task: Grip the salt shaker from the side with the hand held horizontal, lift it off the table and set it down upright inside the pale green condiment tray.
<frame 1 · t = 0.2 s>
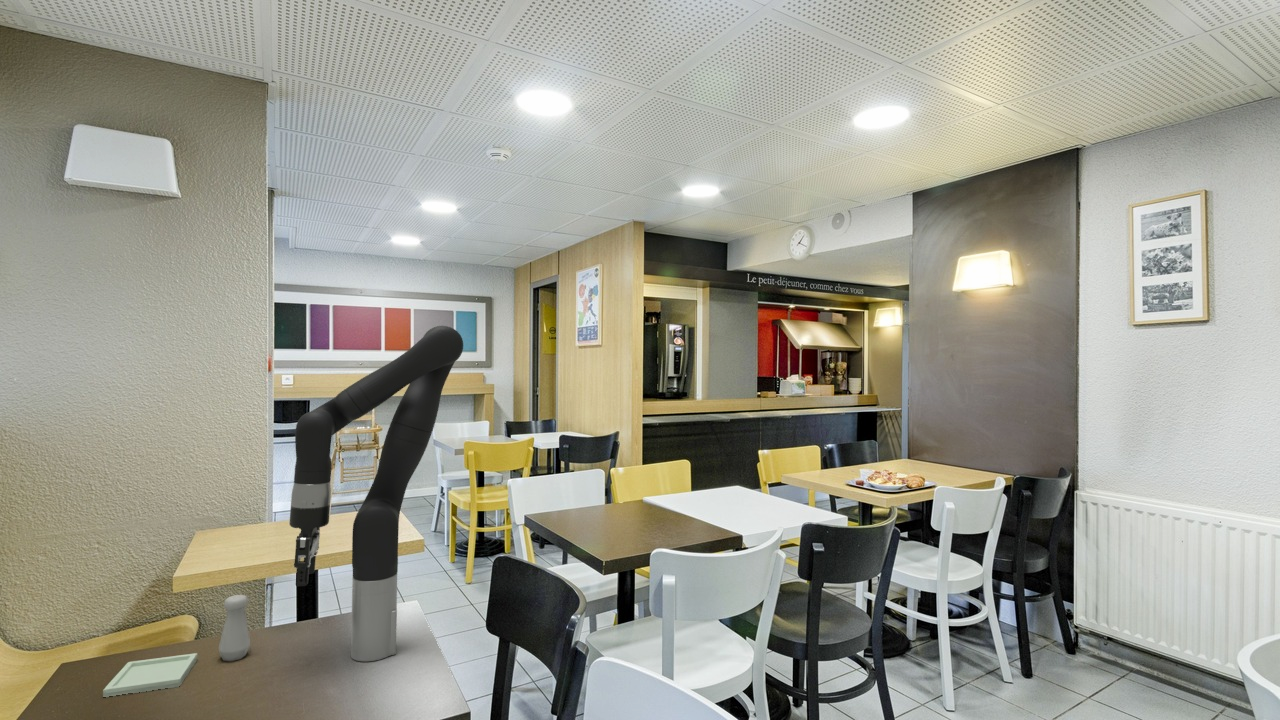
hand: (305, 579, 132), 18 cm above the table, tool pointing down, fingers open, 8 cm apart
tray: (153, 677, 125), on the table
salt shaker: (234, 657, 134), on the table
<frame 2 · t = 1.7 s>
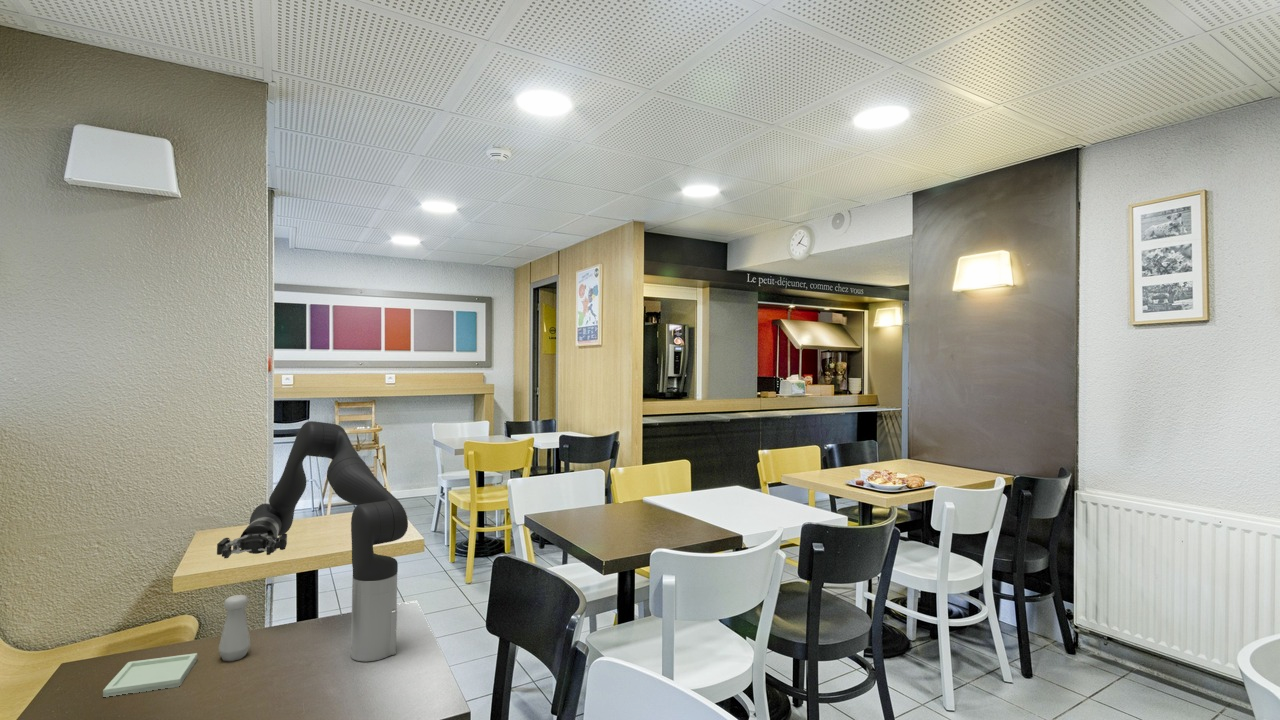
hand: (247, 552, 145), 20 cm above the table, tool horizontal, fingers open, 8 cm apart
nothing on the table moved.
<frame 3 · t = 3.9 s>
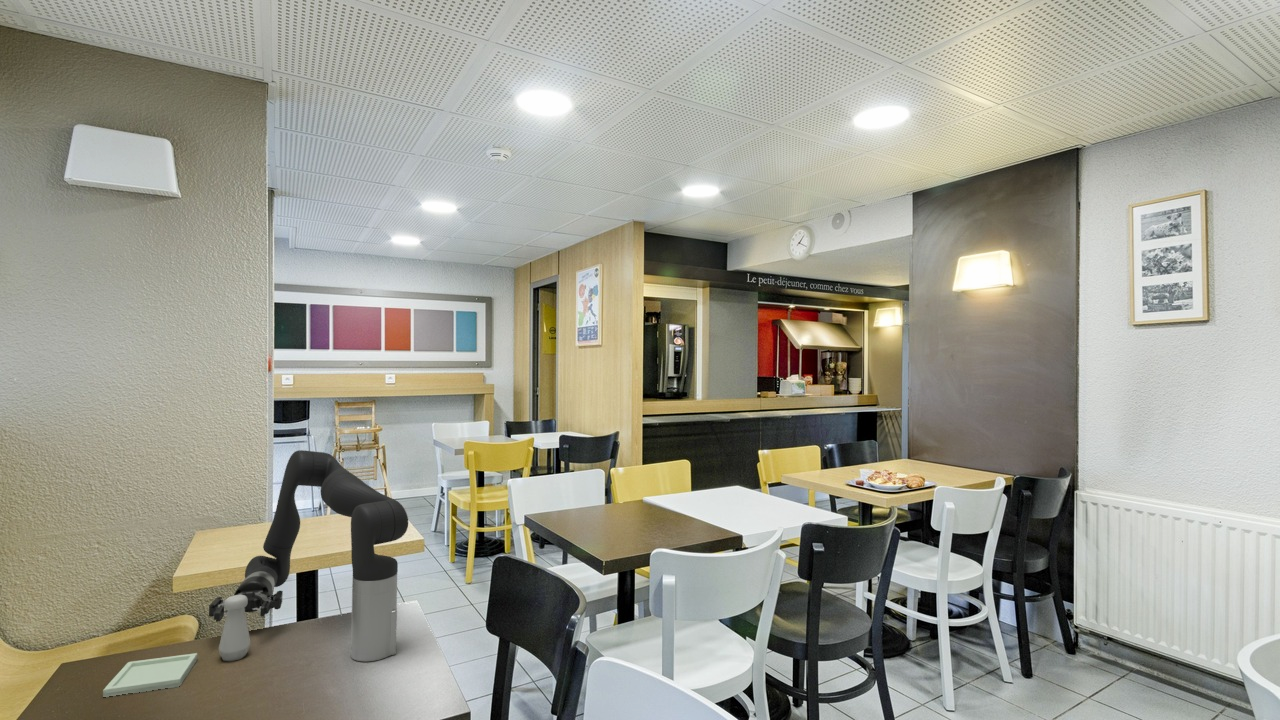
hand: (240, 614, 138), 7 cm above the table, tool horizontal, fingers open, 8 cm apart
nothing on the table moved.
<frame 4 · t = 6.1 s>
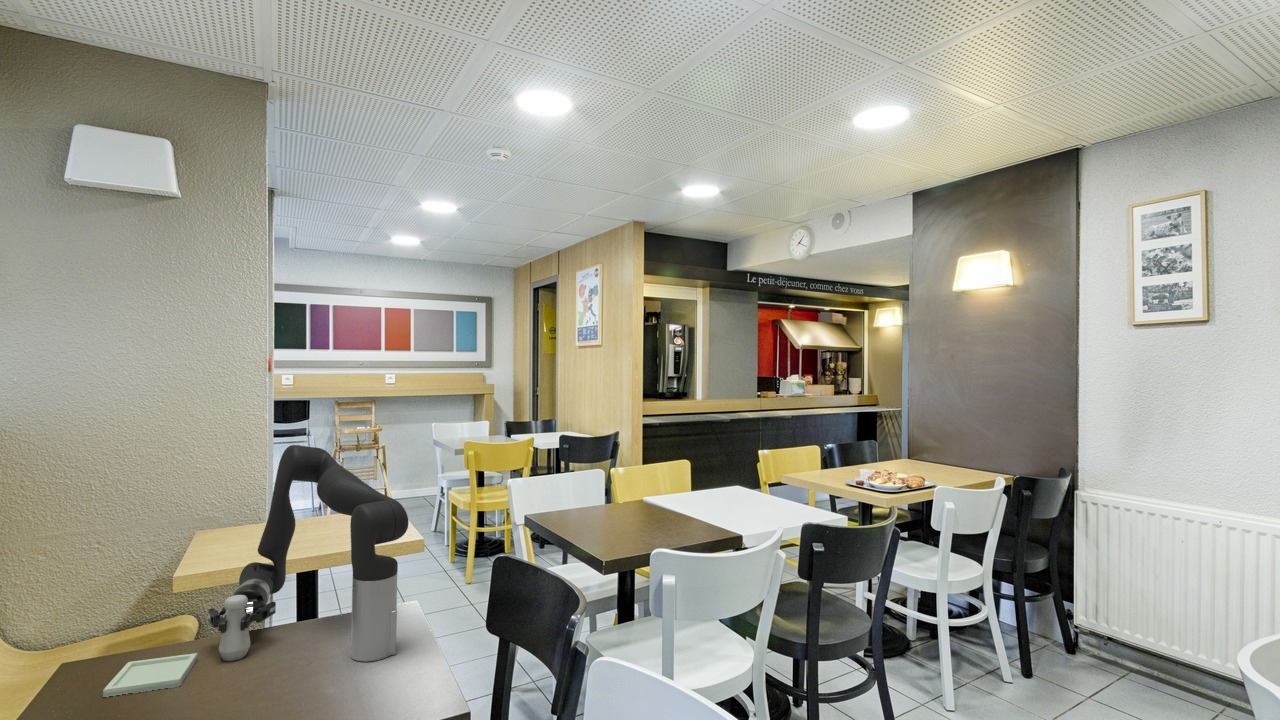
hand: (232, 627, 132), 8 cm above the table, tool horizontal, fingers closed on salt shaker, 3 cm apart
salt shaker: (234, 657, 134), on the table, touching gripper
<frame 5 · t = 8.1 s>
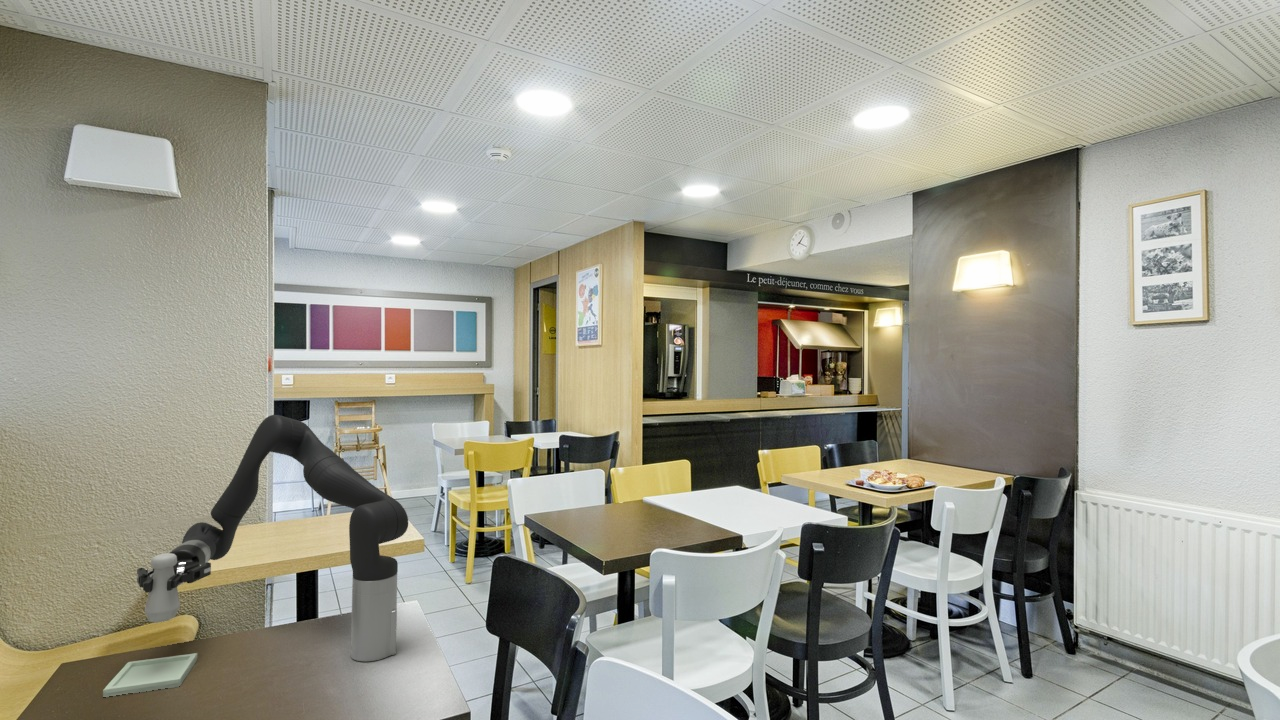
hand: (158, 586, 124), 19 cm above the table, tool horizontal, fingers closed on salt shaker, 3 cm apart
salt shaker: (162, 619, 126), point 11 cm above the table, touching gripper
when the fingers open (9 cm above the table, at t = 10.3 s): salt shaker stays where it is, resting on tray.
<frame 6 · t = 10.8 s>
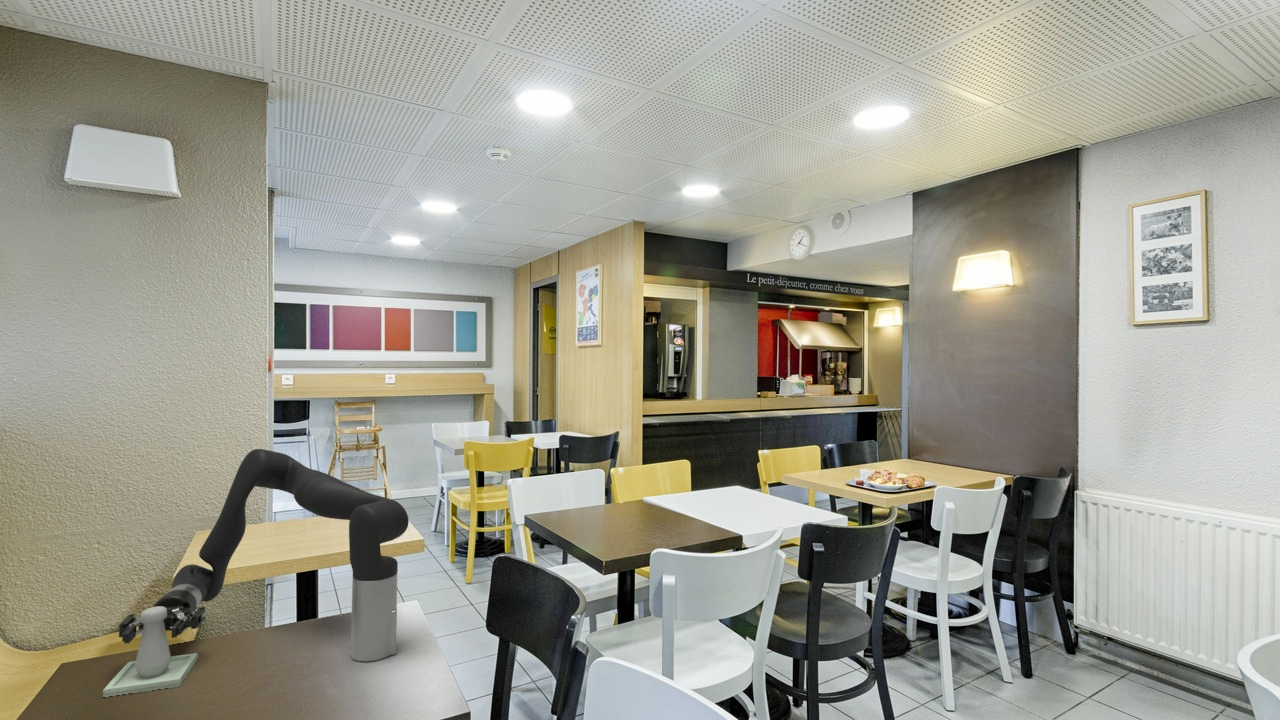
hand: (150, 635, 123), 9 cm above the table, tool horizontal, fingers open, 7 cm apart
salt shaker: (153, 674, 125), point 1 cm above the table, touching tray
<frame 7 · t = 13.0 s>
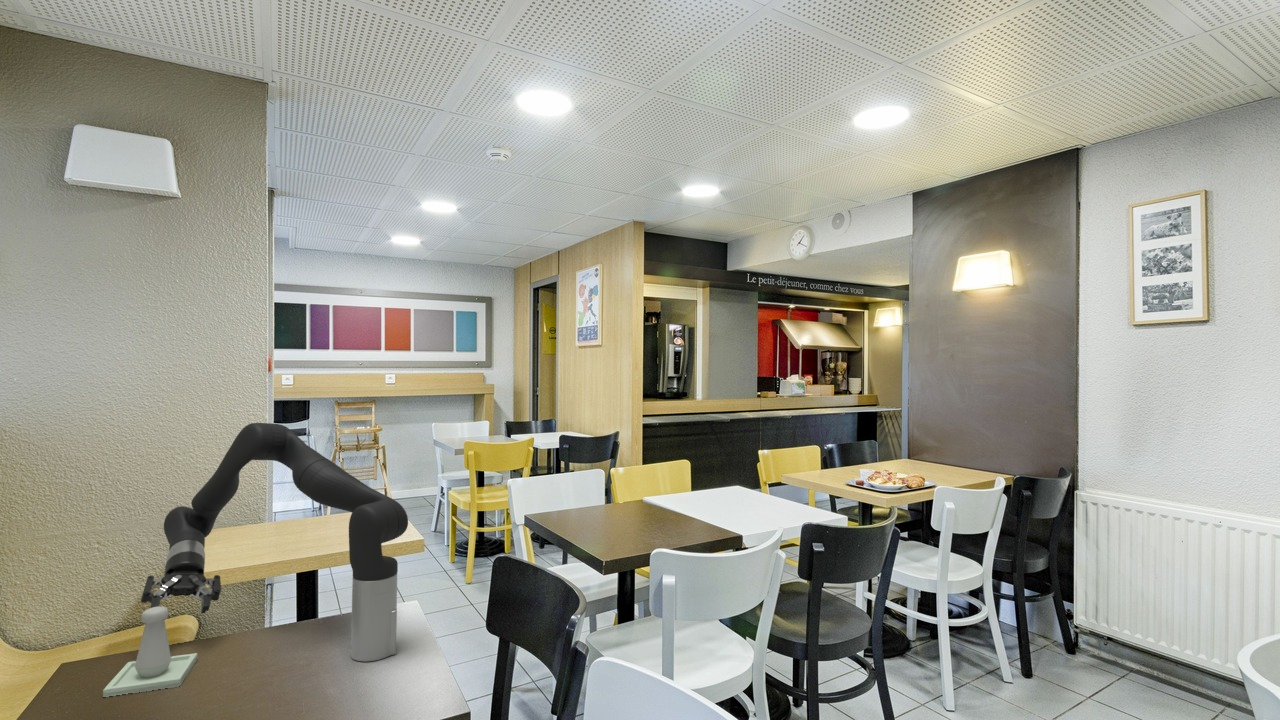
hand: (180, 611, 134), 10 cm above the table, tool tilted 65°, fingers open, 8 cm apart
nothing on the table moved.
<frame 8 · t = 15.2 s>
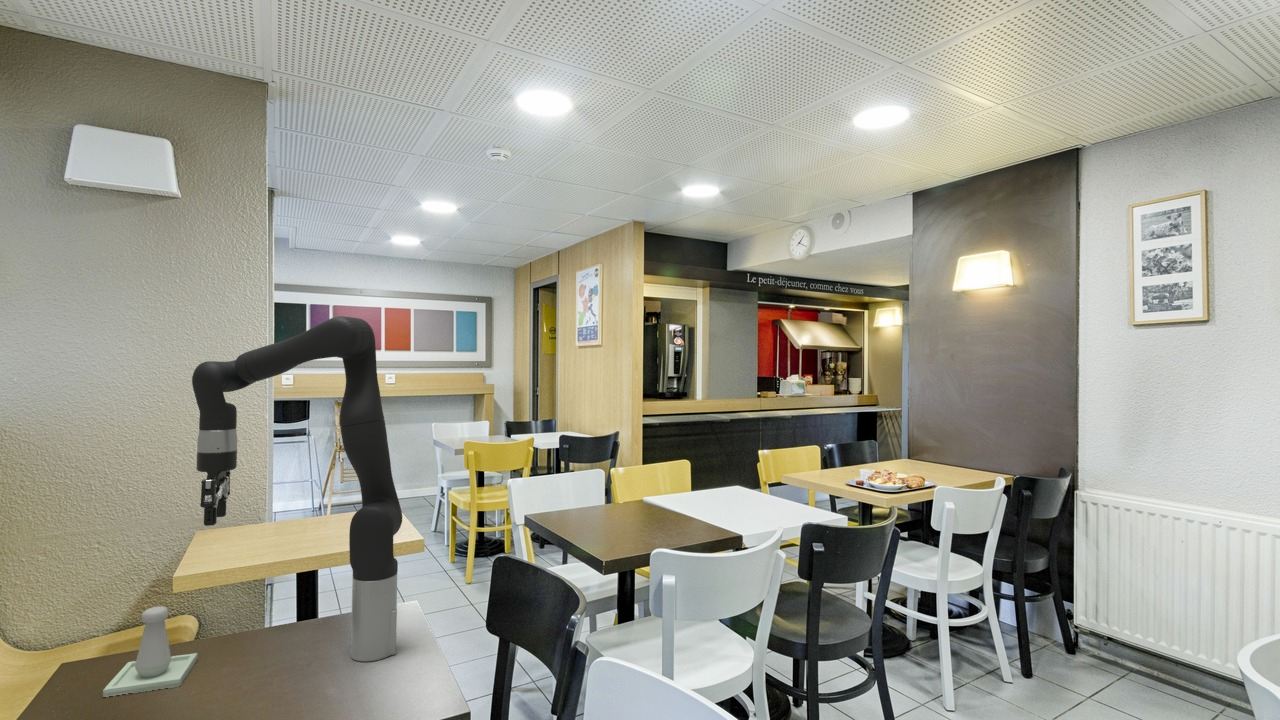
hand: (215, 520, 140), 28 cm above the table, tool pointing down, fingers open, 8 cm apart
nothing on the table moved.
at the end: salt shaker inside the target area on the tray (0.2 cm from its centre), point 0.6 cm above the tray's base; salt shaker tilted 0°; the gripper is holding nothing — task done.
